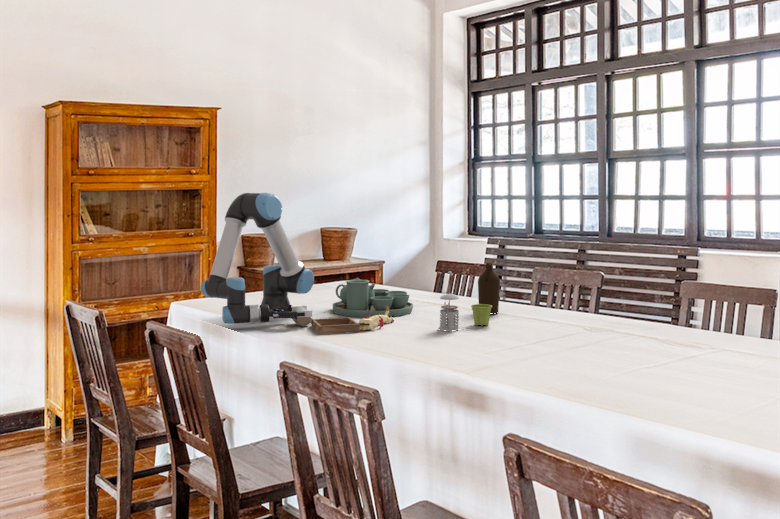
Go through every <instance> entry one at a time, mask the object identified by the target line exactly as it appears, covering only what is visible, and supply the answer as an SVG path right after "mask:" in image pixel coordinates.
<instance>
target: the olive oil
mask: <svg viewBox="0 0 780 519" xmlns="http://www.w3.org/2000/svg"><path fill="white" fill-rule="evenodd" d="M493 264H494V263H493V261H485V270H483V272H482V273H481V274H480V275H479V276H478V280H477V290H478V294H477V296H478V298H477V299H478V304H487V305H492V307H491V311H490V313H497V312H498V313H499V307H500V306H499V305H500V304H499V303H500V302H499V301H500V289H501V288H500V287H501V280H500V277H499V275H498V274H497V273H496V272H495V271H494V269H493V267H494V265H493Z"/></svg>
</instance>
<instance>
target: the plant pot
mask: <svg viewBox="0 0 780 519" xmlns="http://www.w3.org/2000/svg"><path fill="white" fill-rule="evenodd" d="M470 307H471V311H472V316H473V324H474V325H475V326H476V325H481V326H483V325H487V326H489V324H490V311H491V307H492V305H487V304H479V303H478V304H477V303H476V304H471V305H470Z"/></svg>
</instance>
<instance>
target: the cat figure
mask: <svg viewBox="0 0 780 519" xmlns="http://www.w3.org/2000/svg"><path fill="white" fill-rule="evenodd" d="M385 309H386V310H387V311H386V313H385V315H376V316H372V317H369V318H367V317H368V316H369V315H370V314H369V315H368V316H366V317H365V318H361V319H359V321H358V323H359V324H360V331H366V330H375V328H377V327H378V326H379V329H381V328H383V327H384V325H385V323H390V322H393V323H394V322H395V319H394V317H388V316H387V315H388V313H389V310H390V309H389V307H388V306H386V307H385ZM379 324H380V325H379Z"/></svg>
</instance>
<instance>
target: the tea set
mask: <svg viewBox="0 0 780 519" xmlns="http://www.w3.org/2000/svg"><path fill="white" fill-rule="evenodd" d="M345 283H346V284H343V283H341V284H338V285H337V286H336V288H335V295H336V297H337V298H339V300H340V301H336V302H333V303H332V310H333V312H334V314H338V315H341V316H345V317H355V318H363V317H366V316H368V315H369V314H370V315H369V316H368V317H372V316H376V315H385V313H386V311H387V310H386V309H385V307H386V306H388V307H389V309H390V310H389V313H388V315H387V316H388V317H389V318H390V317H392V316H394V317H400V316H401V317H402V316H405V315H408V314H411V312H412V311H413V308H414V304H413V303H411V302H410V301H409V298H410V295H409V294H408V292H407V291H405V290H389V289H387V288H386V289H385V288H375V285H376V284H375V283H374V282H372V284H371V285H370V284H369V283H370V280H368V279H360V278H359V277H356V278H354V279H349V280H345ZM341 287H342V288H341ZM339 288H341V289H340V291H339Z"/></svg>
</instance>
